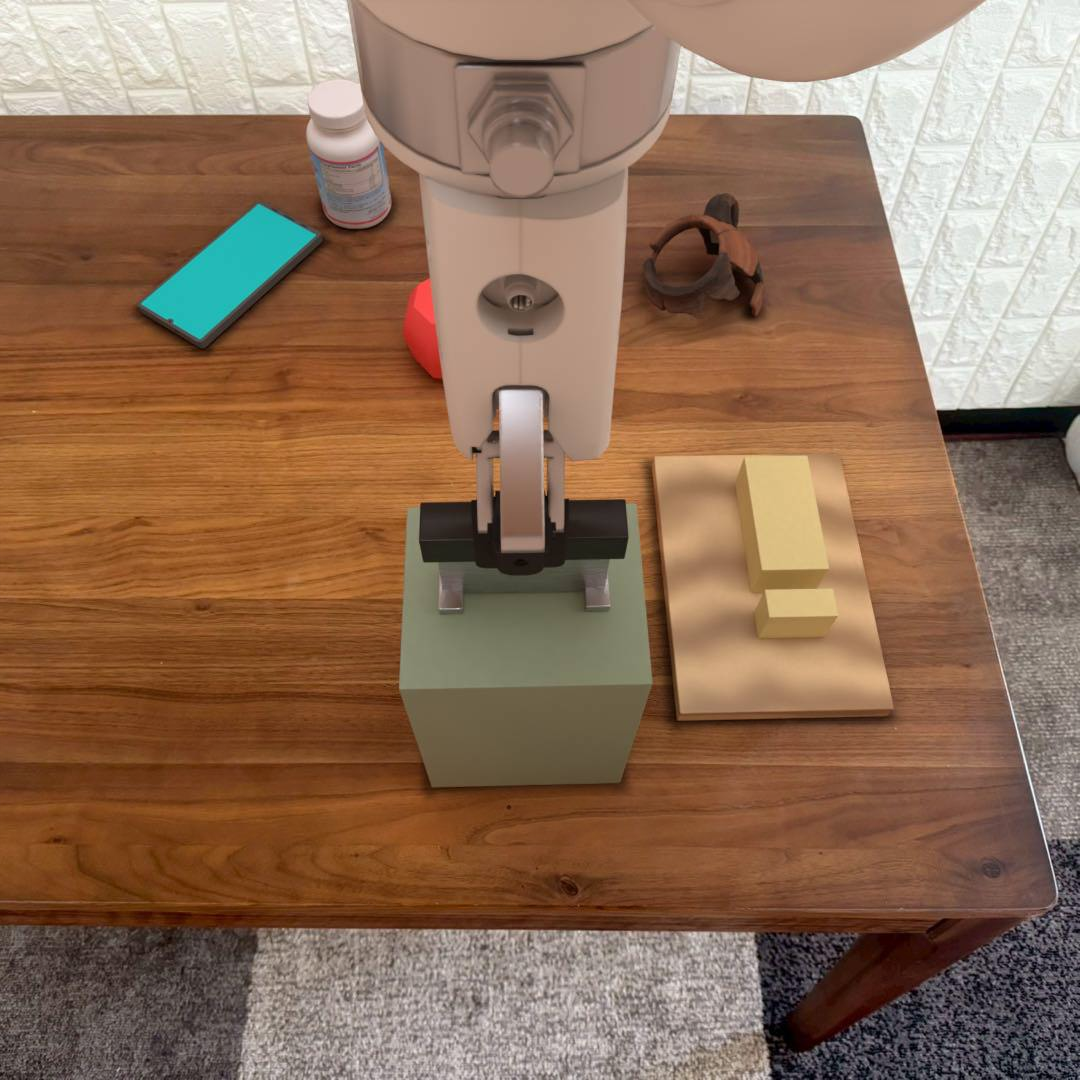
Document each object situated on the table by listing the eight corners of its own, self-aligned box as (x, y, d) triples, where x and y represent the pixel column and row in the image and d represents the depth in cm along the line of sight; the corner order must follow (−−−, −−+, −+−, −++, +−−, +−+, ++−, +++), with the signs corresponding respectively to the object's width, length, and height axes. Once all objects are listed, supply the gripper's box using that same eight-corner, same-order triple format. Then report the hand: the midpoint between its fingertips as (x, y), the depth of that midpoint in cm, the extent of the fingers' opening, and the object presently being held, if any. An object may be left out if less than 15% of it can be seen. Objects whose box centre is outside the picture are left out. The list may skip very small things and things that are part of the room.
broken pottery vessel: (764, 348, 79) (732, 298, 72) (659, 355, 84) (620, 308, 77) (783, 221, 82) (755, 160, 75) (680, 234, 87) (645, 178, 80)
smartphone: (322, 233, 83) (199, 343, 77) (324, 240, 84) (203, 350, 78) (259, 198, 85) (134, 303, 79) (261, 206, 86) (138, 311, 79)
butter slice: (823, 637, 65) (838, 616, 62) (757, 638, 64) (769, 617, 61) (819, 610, 66) (833, 588, 62) (753, 611, 65) (764, 589, 62)
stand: (620, 783, 61) (652, 683, 45) (431, 787, 61) (398, 689, 45) (610, 638, 66) (636, 503, 50) (435, 641, 66) (407, 506, 50)
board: (887, 716, 64) (894, 709, 62) (676, 721, 63) (679, 713, 62) (834, 463, 73) (839, 452, 72) (651, 466, 73) (653, 455, 72)
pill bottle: (334, 180, 87) (310, 68, 78) (399, 189, 87) (383, 77, 77) (315, 227, 85) (287, 116, 75) (382, 237, 84) (362, 127, 74)
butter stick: (815, 591, 66) (829, 568, 63) (750, 593, 66) (761, 570, 63) (795, 481, 71) (807, 455, 68) (734, 482, 70) (744, 456, 67)
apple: (388, 372, 77) (374, 302, 70) (438, 305, 80) (429, 232, 73) (474, 409, 75) (469, 341, 68) (522, 339, 79) (521, 268, 72)
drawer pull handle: (615, 611, 47) (629, 542, 41) (432, 615, 47) (418, 545, 41) (612, 568, 48) (625, 494, 42) (434, 571, 48) (420, 497, 42)
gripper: (724, 322, 18) (630, 656, 33) (649, -165, 26) (601, 280, 41) (323, 324, 18) (412, 660, 33) (374, -167, 26) (427, 282, 41)
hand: (517, 449), depth 37 cm, fingers open, 9 cm apart
